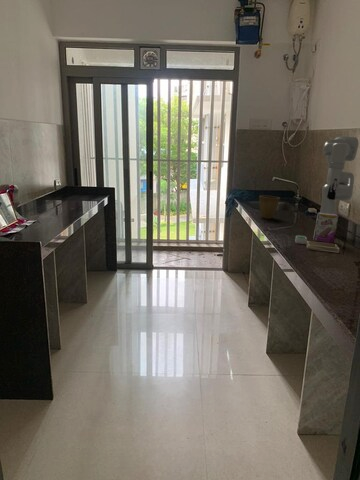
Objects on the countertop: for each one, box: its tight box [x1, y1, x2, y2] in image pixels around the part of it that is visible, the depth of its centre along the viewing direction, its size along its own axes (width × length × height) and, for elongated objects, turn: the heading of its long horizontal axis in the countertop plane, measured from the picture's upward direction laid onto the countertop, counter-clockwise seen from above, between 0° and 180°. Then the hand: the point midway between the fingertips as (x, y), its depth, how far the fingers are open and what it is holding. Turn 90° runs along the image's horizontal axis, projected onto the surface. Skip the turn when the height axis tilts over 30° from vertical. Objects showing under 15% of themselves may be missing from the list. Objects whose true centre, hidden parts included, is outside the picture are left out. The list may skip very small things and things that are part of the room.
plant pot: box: [258, 194, 281, 219], centre depth 267 cm, size 15×15×16 cm
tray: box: [305, 240, 340, 254], centre depth 194 cm, size 10×16×2 cm, turn 76°
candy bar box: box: [313, 212, 340, 244], centre depth 207 cm, size 11×5×16 cm, turn 74°
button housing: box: [294, 235, 308, 245], centre depth 204 cm, size 6×6×3 cm
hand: (330, 198), depth 203 cm, fingers open, 4 cm apart
